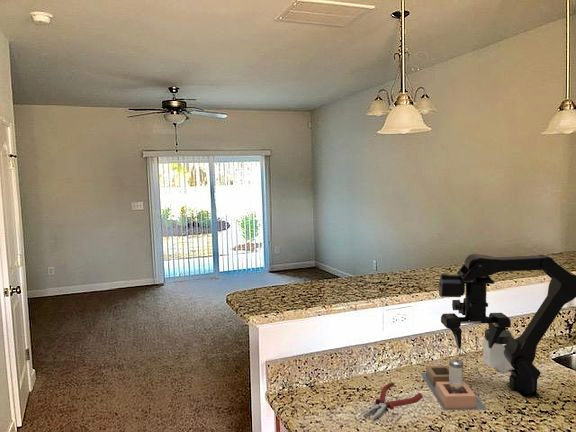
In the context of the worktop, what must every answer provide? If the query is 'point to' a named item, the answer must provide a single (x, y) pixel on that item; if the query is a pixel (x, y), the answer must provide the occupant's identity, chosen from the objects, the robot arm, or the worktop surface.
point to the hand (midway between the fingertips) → (474, 348)
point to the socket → (455, 396)
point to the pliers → (389, 403)
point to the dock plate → (442, 375)
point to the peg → (455, 376)
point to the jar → (496, 352)
